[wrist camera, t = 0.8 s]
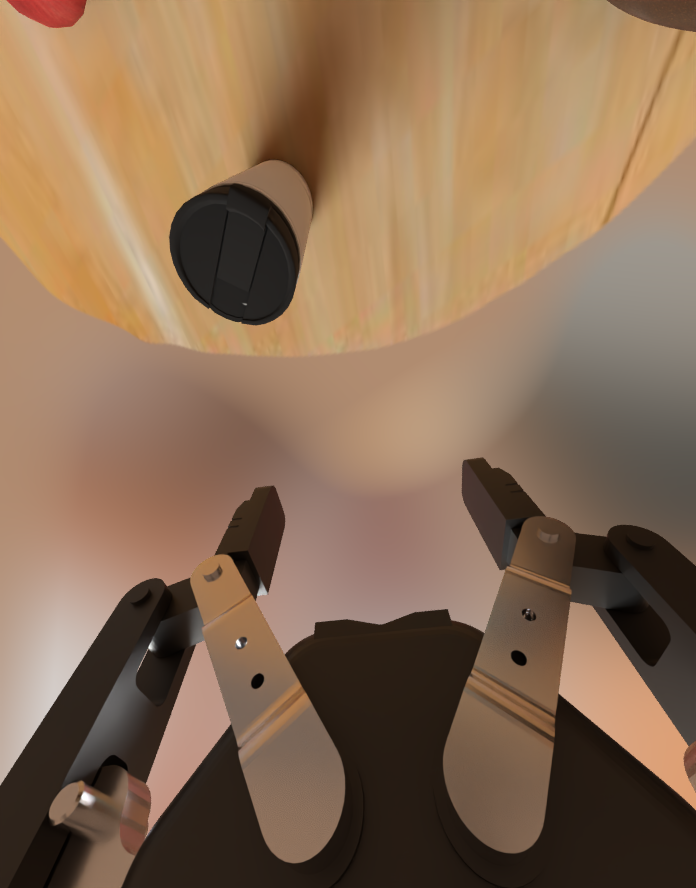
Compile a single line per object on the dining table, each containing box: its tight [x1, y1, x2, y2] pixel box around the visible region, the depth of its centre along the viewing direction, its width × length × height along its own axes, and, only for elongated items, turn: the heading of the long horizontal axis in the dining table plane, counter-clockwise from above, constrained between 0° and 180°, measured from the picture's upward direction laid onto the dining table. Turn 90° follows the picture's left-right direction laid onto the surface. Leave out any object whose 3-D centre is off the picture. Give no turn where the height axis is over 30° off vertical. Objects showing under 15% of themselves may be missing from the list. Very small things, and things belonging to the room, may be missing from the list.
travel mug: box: [169, 160, 313, 325], centre depth 22 cm, size 6×7×20 cm
